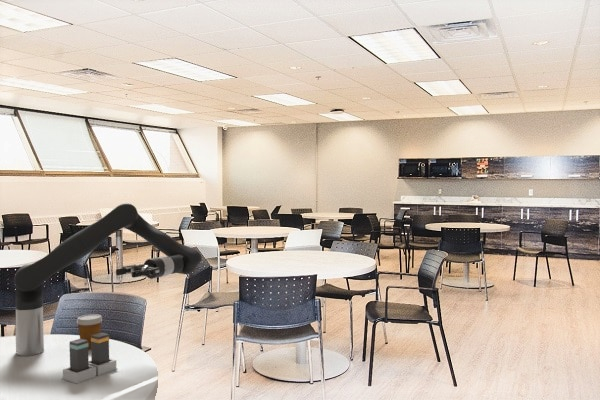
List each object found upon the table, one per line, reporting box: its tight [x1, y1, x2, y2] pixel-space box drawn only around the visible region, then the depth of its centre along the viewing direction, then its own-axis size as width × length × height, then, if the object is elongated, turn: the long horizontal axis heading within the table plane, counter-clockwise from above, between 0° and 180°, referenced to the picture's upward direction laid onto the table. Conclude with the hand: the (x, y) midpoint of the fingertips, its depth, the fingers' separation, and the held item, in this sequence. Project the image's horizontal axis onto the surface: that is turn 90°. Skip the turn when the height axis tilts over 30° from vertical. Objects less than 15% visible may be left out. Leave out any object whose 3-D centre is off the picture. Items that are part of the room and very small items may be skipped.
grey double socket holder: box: [61, 357, 118, 385], centre depth 177 cm, size 8×16×4 cm, turn 147°
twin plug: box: [68, 338, 90, 373], centre depth 173 cm, size 4×4×12 cm
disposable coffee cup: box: [76, 313, 103, 351], centre depth 208 cm, size 10×10×12 cm
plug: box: [90, 332, 110, 365], centre depth 180 cm, size 4×4×12 cm
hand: (124, 273), depth 190 cm, fingers open, 8 cm apart
